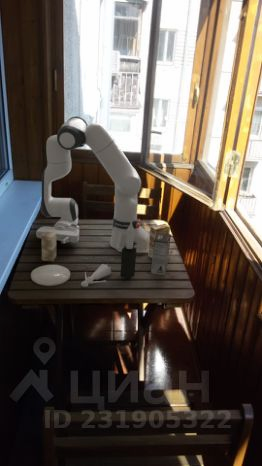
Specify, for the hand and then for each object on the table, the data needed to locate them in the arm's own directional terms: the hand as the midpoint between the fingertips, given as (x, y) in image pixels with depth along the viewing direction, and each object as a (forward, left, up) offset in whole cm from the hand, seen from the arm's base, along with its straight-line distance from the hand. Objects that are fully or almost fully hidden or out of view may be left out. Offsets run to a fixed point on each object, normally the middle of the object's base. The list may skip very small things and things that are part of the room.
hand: (52, 240), depth 179 cm
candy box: (-48, -12, -7) cm, 50 cm away
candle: (-37, +11, -7) cm, 39 cm away
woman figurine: (-25, +17, -7) cm, 31 cm away
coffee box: (-50, +2, -7) cm, 51 cm away
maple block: (0, +5, -6) cm, 8 cm away
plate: (-6, +20, -6) cm, 22 cm away
